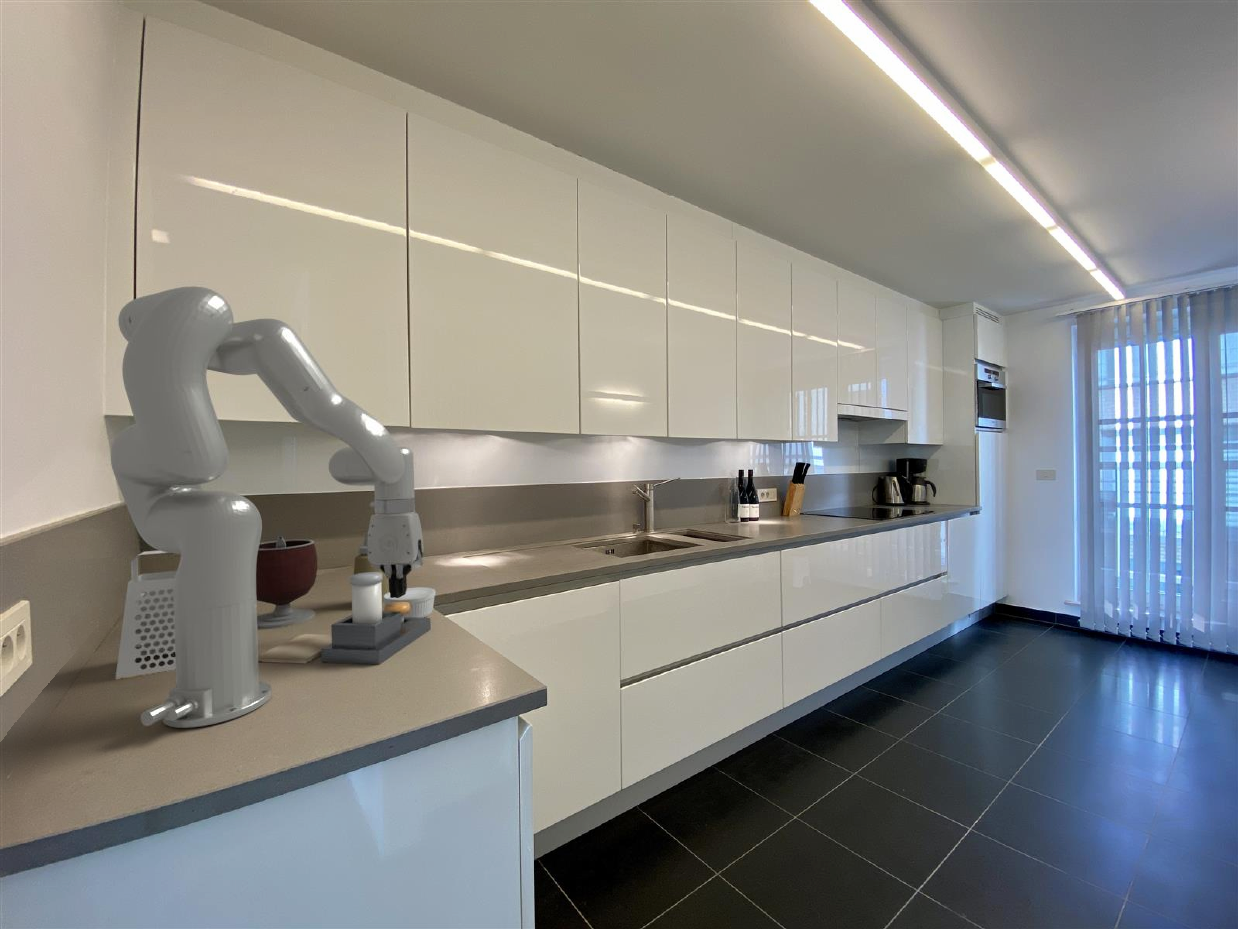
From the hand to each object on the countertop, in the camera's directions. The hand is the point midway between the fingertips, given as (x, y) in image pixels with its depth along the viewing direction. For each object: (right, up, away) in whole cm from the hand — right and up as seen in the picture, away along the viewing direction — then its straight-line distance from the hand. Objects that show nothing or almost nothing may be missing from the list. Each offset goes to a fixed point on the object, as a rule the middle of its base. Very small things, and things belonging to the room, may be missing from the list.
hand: (398, 596), depth 107 cm
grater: (-36, -9, -14) cm, 39 cm away
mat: (-14, -8, -8) cm, 18 cm away
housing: (-1, -8, -6) cm, 10 cm away
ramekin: (-2, -8, +12) cm, 15 cm away
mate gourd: (-30, -8, +10) cm, 33 cm away
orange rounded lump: (0, -6, 0) cm, 6 cm away
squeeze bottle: (-16, -8, +22) cm, 29 cm away
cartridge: (-1, -6, -10) cm, 12 cm away
